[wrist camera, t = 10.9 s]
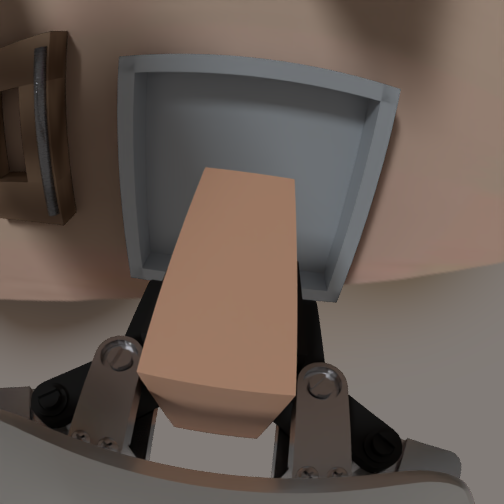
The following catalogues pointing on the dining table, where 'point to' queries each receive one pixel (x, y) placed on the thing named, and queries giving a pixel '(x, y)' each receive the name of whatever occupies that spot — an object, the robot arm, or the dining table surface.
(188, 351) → the tan rectangular block
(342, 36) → the dining table surface
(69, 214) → the brown piece
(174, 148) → the tray
